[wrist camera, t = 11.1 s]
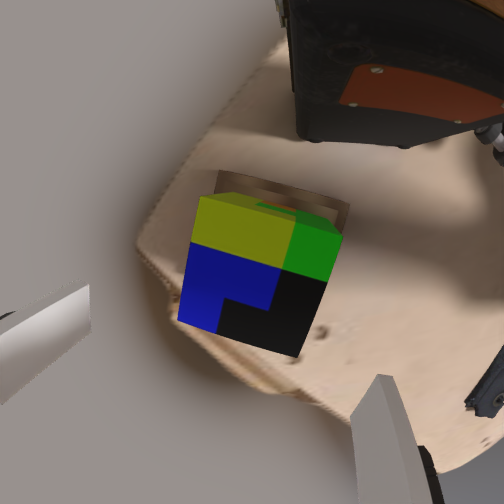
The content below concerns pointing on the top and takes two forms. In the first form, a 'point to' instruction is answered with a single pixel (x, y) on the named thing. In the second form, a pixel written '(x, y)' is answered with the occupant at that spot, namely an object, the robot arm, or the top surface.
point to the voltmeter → (394, 68)
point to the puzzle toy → (257, 271)
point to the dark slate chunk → (489, 390)
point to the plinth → (283, 196)
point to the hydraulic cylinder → (493, 139)
